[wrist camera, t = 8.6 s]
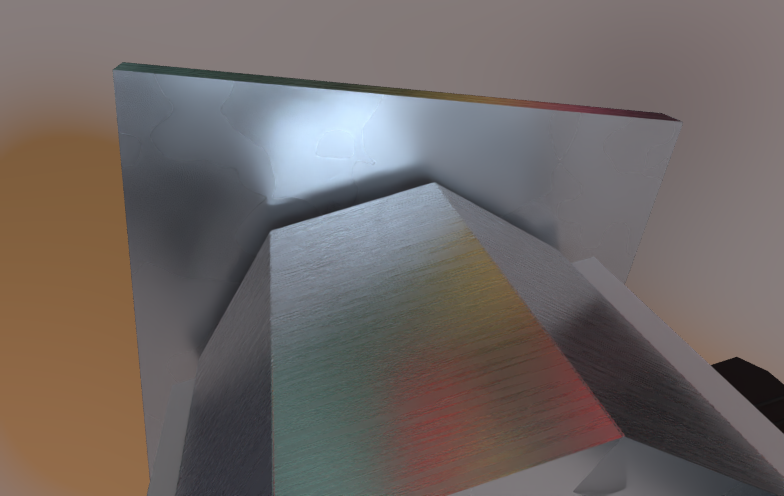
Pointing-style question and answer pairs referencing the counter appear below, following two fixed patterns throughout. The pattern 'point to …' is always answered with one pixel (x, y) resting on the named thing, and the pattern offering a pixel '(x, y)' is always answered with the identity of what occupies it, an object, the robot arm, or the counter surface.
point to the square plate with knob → (347, 182)
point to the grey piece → (443, 372)
